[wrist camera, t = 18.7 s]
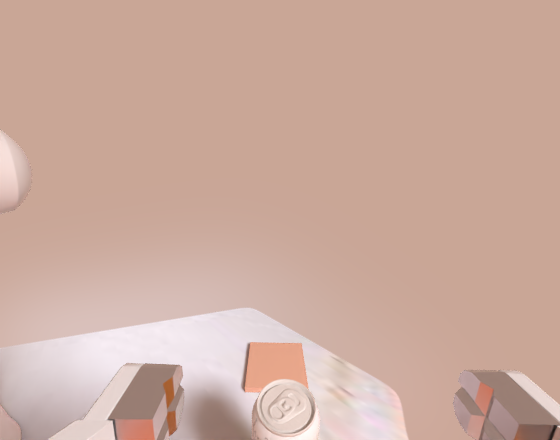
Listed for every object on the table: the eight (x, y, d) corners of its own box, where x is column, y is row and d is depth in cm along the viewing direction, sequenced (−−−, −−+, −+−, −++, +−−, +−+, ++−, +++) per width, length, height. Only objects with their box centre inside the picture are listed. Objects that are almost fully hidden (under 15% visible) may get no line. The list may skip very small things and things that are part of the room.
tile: (308, 388, 41) (301, 343, 50) (244, 387, 40) (250, 342, 50) (307, 395, 41) (301, 349, 51) (244, 394, 41) (250, 348, 50)
